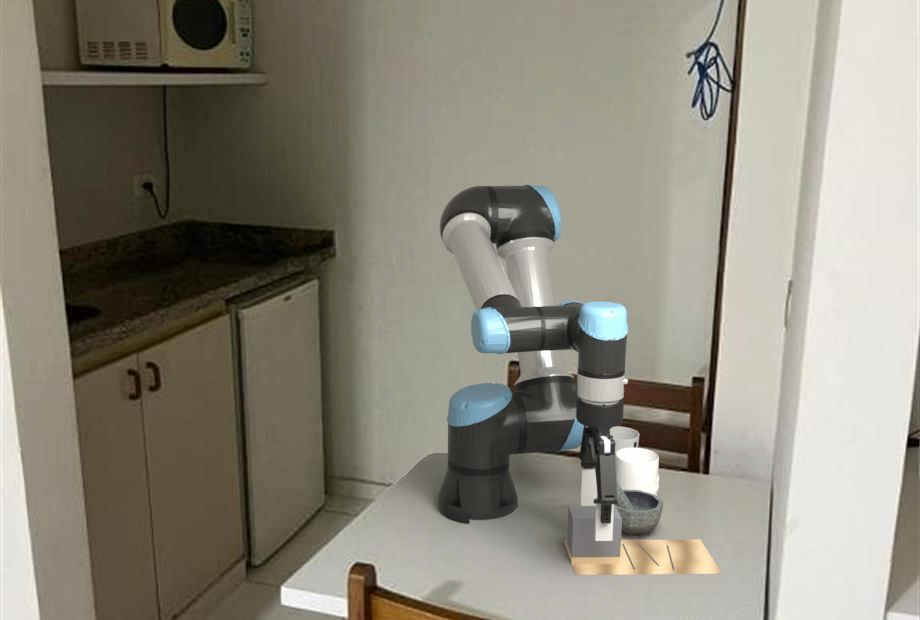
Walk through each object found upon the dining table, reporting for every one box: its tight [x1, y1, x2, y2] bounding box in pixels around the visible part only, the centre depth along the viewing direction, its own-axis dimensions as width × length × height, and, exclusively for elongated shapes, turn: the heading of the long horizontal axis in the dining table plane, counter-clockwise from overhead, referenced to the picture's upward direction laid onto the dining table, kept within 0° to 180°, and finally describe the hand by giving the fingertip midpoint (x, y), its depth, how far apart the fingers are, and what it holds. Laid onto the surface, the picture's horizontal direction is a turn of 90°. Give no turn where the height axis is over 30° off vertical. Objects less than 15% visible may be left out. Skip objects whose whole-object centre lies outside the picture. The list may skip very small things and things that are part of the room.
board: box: [563, 538, 723, 576], centre depth 155 cm, size 24×12×1 cm, turn 92°
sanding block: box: [566, 505, 622, 565], centre depth 154 cm, size 8×5×8 cm, turn 92°
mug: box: [615, 447, 660, 497], centre depth 173 cm, size 8×12×12 cm
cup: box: [610, 425, 640, 454], centre depth 189 cm, size 8×8×10 cm
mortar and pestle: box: [608, 480, 664, 540], centre depth 163 cm, size 11×9×12 cm
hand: (595, 522), depth 153 cm, fingers open, 13 cm apart
